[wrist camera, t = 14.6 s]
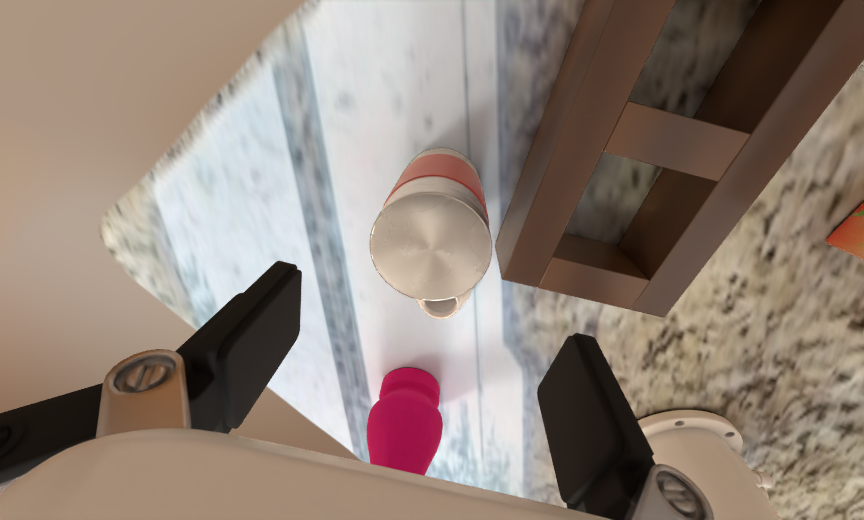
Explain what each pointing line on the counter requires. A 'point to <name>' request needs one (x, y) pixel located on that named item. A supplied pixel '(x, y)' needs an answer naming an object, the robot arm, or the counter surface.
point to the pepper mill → (405, 422)
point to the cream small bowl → (444, 306)
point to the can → (433, 228)
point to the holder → (669, 146)
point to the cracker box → (850, 234)
